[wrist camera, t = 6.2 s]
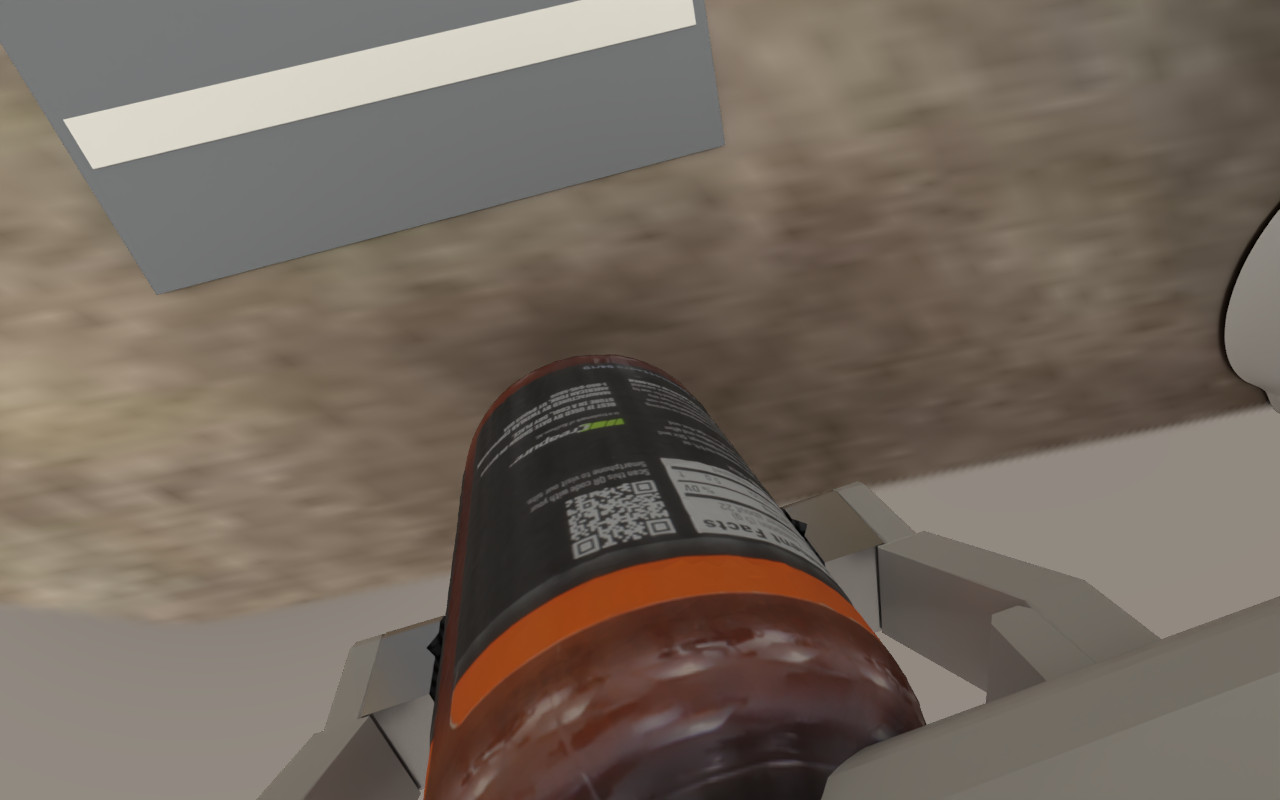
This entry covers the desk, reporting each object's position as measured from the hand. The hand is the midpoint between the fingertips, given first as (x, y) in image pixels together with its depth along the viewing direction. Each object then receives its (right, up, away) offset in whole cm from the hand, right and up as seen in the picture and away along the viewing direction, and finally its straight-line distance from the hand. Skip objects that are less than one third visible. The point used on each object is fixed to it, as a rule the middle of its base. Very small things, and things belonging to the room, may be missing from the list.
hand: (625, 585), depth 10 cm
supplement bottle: (-1, +2, +4) cm, 5 cm away
